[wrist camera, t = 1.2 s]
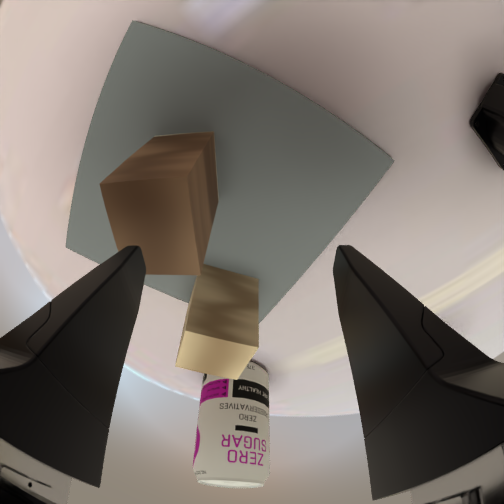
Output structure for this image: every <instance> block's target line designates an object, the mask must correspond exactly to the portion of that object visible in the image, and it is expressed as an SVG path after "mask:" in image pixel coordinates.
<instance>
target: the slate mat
mask: <svg viewBox="0 0 504 504" xmlns="http://www.w3.org/2000/svg"><path fill="white" fill-rule="evenodd" d="M211 131H214V136H215V153H216V168H217V182H218V196H219V202H218V206H217V210H216V214H215V218H214V222H213V226H212V230H211V234H210V238H209V242H208V246H207V251H206V255H205V259H204V264H206V265H210V266H213V267H217V268H220V269H224V270H227V271H231V272H235V273H238V274H242V275H246V276H249V277H253V278H257V279H259V323H260V322H261V321H262V320H263V319H264V318H265V317H266V315H267V314H268V313H269V312H270V311H271V310H272V309H273V308H274V307H275V305H276V304H277V303H278V302H279V301H280V300H281V299H282V298H283V297H284V295H285V294H286V293H287V292H288V291H289V290H290V289H291V287H292V286H293V285H294V284H295V283H296V282H297V281H298V279H299V278H300V277H301V276H302V275H303V274H304V273H305V271H306V270H307V269H308V268H309V267H310V266H311V264H312V263H313V262H314V261H315V260H316V259H317V257H318V256H319V255H320V254H321V253H322V251H323V250H324V249H325V248H326V247H327V245H328V244H329V243H330V242H331V241H332V239H333V238H334V237H335V236H336V235H337V233H338V232H339V231H340V230H341V229H342V227H343V226H344V225H345V224H346V222H347V221H348V220H349V219H350V217H351V216H352V215H353V214H354V212H355V211H356V210H357V209H358V207H359V206H360V205H361V204H362V202H363V201H364V200H365V199H366V197H367V196H368V195H369V194H370V192H371V191H372V190H373V188H374V187H375V186H376V185H377V183H378V182H379V181H380V179H381V178H382V177H383V175H384V174H385V173H386V171H387V170H388V169H389V168H390V166H391V165H392V164H393V162H394V160H393V159H392V158H391V157H390V156H388V155H387V154H386V153H385V152H383V151H382V150H381V149H380V148H378V147H377V146H376V145H374V144H373V143H372V142H371V141H369V140H368V139H367V138H365V137H364V136H363V135H361V134H360V133H359V132H357V131H356V130H354V129H353V128H352V127H350V126H349V125H347V124H346V123H345V122H343V121H342V120H340V119H339V118H337V117H336V116H334V115H333V114H331V113H330V112H328V111H327V110H325V109H324V108H322V107H321V106H319V105H318V104H316V103H314V102H313V101H311V100H310V99H308V98H306V97H305V96H303V95H302V94H300V93H298V92H297V91H295V90H293V89H291V88H290V87H288V86H286V85H284V84H283V83H281V82H279V81H277V80H276V79H274V78H272V77H270V76H268V75H266V74H264V73H262V72H261V71H259V70H257V69H255V68H253V67H251V66H249V65H247V64H245V63H243V62H241V61H239V60H236V59H234V58H232V57H230V56H228V55H226V54H223V53H221V52H219V51H217V50H214V49H212V48H210V47H207V46H205V45H202V44H200V43H198V42H195V41H192V40H190V39H187V38H185V37H182V36H179V35H177V34H174V33H171V32H168V31H165V30H162V29H159V28H156V27H153V26H150V25H146V24H143V23H140V22H136V21H132V23H131V25H130V26H129V28H128V30H127V32H126V34H125V37H124V39H123V41H122V43H121V45H120V47H119V49H118V52H117V54H116V56H115V58H114V61H113V63H112V65H111V68H110V70H109V73H108V75H107V78H106V80H105V83H104V86H103V88H102V91H101V94H100V97H99V99H98V102H97V105H96V108H95V111H94V114H93V117H92V121H91V124H90V127H89V131H88V134H87V138H86V141H85V145H84V149H83V153H82V157H81V161H80V165H79V169H78V174H77V178H76V183H75V188H74V193H73V199H72V204H71V210H70V217H69V224H68V231H67V239H66V248H68V249H70V250H72V251H74V252H76V253H78V254H80V255H82V256H84V257H86V258H88V259H90V260H92V261H94V262H96V263H98V264H101V263H103V262H104V261H106V260H107V259H109V258H110V257H111V256H113V255H114V254H116V253H117V252H118V249H117V246H116V243H115V240H114V236H113V233H112V230H111V226H110V223H109V219H108V216H107V212H106V208H105V204H104V201H103V197H102V193H101V189H100V185H99V184H100V183H101V182H102V181H103V180H104V179H105V178H106V177H107V176H108V175H110V174H111V173H112V172H113V171H114V170H115V169H116V168H117V167H118V166H120V165H121V164H122V163H123V162H124V161H125V160H126V159H128V158H129V157H130V156H131V155H132V154H134V153H135V152H136V151H137V150H138V149H140V148H141V147H142V146H143V145H144V144H146V143H147V142H148V141H149V140H151V139H152V138H153V137H154V136H160V135H170V134H182V133H195V132H211ZM196 277H197V275H145V280H144V285H146V286H149V287H151V288H153V289H156V290H158V291H160V292H163V293H165V294H167V295H170V296H172V297H175V298H177V299H179V300H182V301H184V302H187V303H189V301H190V298H191V294H192V291H193V287H194V284H195V280H196Z"/></svg>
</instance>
